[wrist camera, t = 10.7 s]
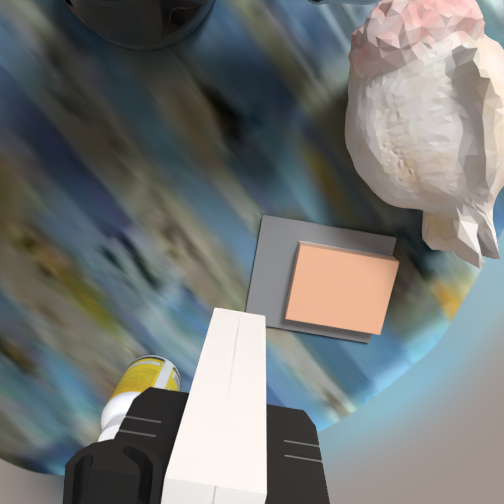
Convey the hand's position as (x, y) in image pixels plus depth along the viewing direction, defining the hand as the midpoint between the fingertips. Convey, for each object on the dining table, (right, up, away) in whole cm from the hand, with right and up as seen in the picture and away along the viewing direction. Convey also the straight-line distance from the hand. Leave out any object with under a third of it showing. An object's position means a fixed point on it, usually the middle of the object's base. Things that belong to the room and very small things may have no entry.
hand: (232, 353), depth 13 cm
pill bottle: (-11, -11, +37) cm, 40 cm away
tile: (+5, 0, +32) cm, 32 cm away
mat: (+8, 0, +33) cm, 34 cm away
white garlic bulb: (+15, +15, +29) cm, 36 cm away
